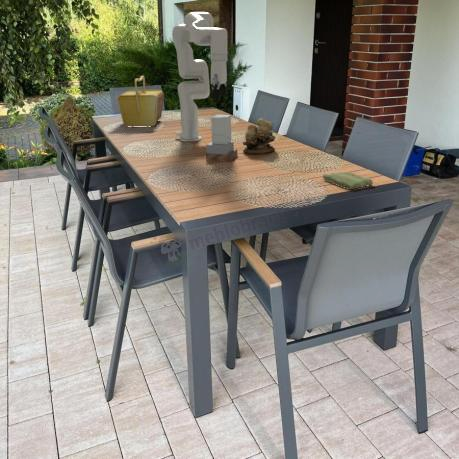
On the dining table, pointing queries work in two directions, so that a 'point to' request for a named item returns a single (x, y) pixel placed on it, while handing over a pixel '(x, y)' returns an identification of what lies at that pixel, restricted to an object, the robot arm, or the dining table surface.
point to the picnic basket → (140, 106)
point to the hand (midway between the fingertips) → (219, 96)
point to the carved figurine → (259, 138)
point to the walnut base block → (222, 156)
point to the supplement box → (221, 129)
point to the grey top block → (219, 148)
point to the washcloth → (347, 180)
